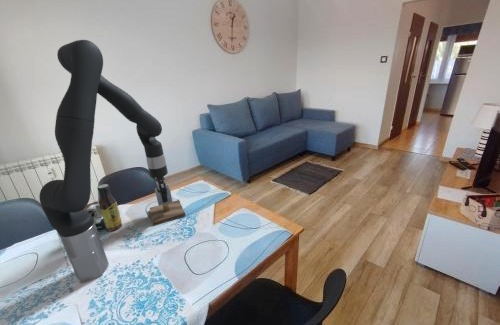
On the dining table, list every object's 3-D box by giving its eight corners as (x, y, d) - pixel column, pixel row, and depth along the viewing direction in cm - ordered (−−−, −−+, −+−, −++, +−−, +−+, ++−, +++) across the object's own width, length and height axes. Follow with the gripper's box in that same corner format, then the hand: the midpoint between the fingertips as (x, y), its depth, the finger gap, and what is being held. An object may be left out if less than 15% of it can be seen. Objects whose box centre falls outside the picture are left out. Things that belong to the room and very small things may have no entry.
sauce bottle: (117, 231, 98) (104, 189, 91) (103, 232, 98) (89, 190, 91) (125, 222, 104) (114, 182, 97) (112, 222, 105) (99, 183, 97)
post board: (185, 215, 107) (182, 201, 104) (153, 225, 101) (149, 210, 98) (179, 202, 118) (176, 189, 116) (150, 210, 113) (146, 196, 110)
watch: (88, 234, 97) (80, 212, 93) (97, 223, 105) (90, 202, 101) (102, 232, 98) (94, 210, 94) (110, 221, 105) (103, 200, 102)
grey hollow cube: (172, 201, 106) (170, 190, 104) (158, 205, 104) (156, 193, 101) (170, 196, 111) (167, 185, 109) (157, 199, 109) (154, 188, 106)
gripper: (168, 168, 96) (175, 203, 103) (163, 158, 108) (169, 190, 115) (149, 172, 93) (157, 208, 99) (146, 161, 105) (153, 194, 111)
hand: (164, 198), depth 107 cm, fingers closed on grey hollow cube, 6 cm apart
